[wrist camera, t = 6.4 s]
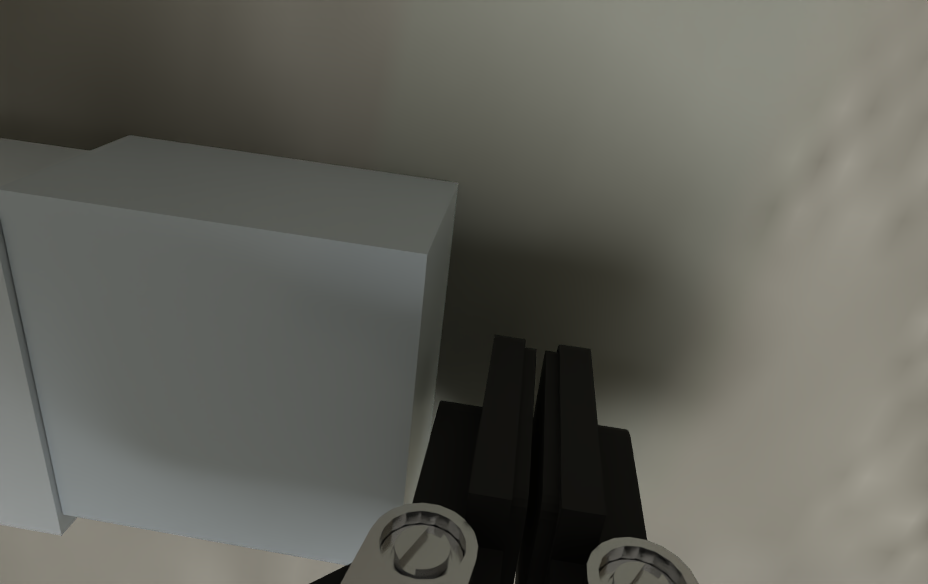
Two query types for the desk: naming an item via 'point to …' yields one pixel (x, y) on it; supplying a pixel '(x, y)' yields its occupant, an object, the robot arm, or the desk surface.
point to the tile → (24, 380)
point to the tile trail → (232, 338)
